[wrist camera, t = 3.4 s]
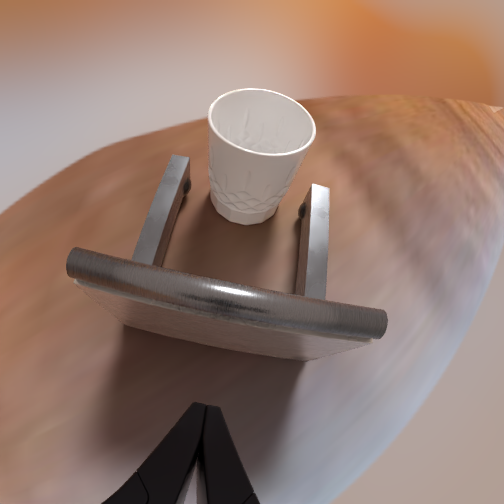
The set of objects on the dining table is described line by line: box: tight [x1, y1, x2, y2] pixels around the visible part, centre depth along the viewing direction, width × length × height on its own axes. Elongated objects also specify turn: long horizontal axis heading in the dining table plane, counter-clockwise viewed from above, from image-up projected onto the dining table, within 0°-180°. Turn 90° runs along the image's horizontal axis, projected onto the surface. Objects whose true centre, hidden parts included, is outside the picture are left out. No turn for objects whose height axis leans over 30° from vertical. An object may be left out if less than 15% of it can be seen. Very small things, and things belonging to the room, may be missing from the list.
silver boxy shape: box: [66, 155, 388, 361], centre depth 20 cm, size 15×15×12 cm
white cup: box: [208, 89, 316, 225], centre depth 24 cm, size 8×8×10 cm
